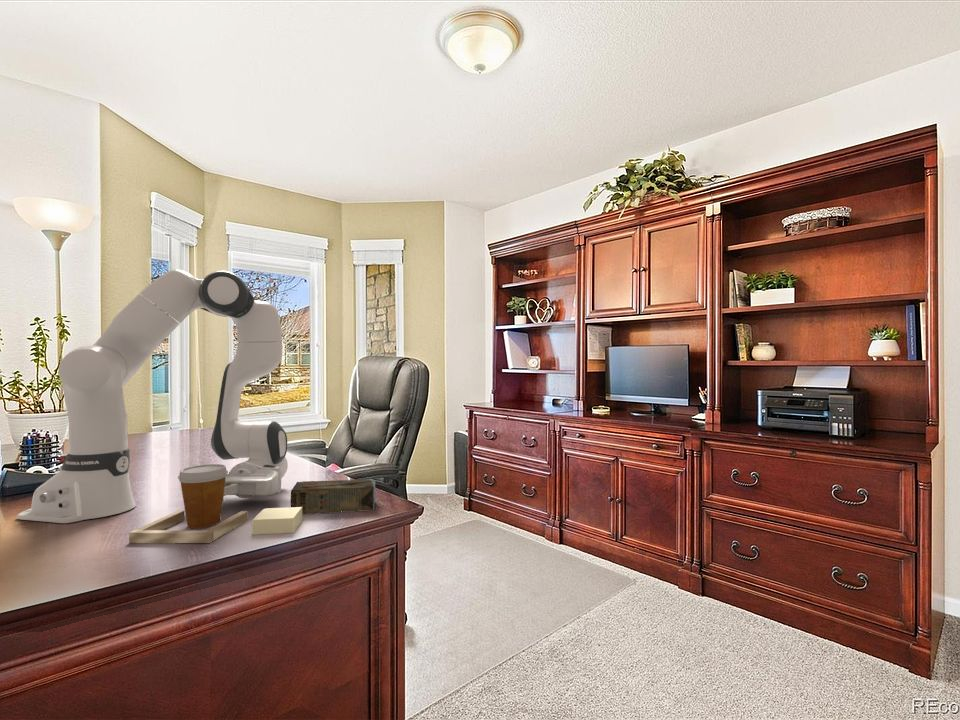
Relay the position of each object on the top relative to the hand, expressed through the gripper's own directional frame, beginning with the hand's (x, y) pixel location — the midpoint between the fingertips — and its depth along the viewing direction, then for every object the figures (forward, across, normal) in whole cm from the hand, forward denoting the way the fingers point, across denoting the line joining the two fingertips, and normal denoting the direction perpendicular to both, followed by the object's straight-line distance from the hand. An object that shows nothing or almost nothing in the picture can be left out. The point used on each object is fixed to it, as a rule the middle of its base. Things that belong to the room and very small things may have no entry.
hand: (216, 493), depth 112 cm
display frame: (+8, 0, +6) cm, 10 cm away
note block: (+6, +17, +6) cm, 19 cm away
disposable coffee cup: (+4, 0, +6) cm, 7 cm away
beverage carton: (-8, +24, +6) cm, 26 cm away
